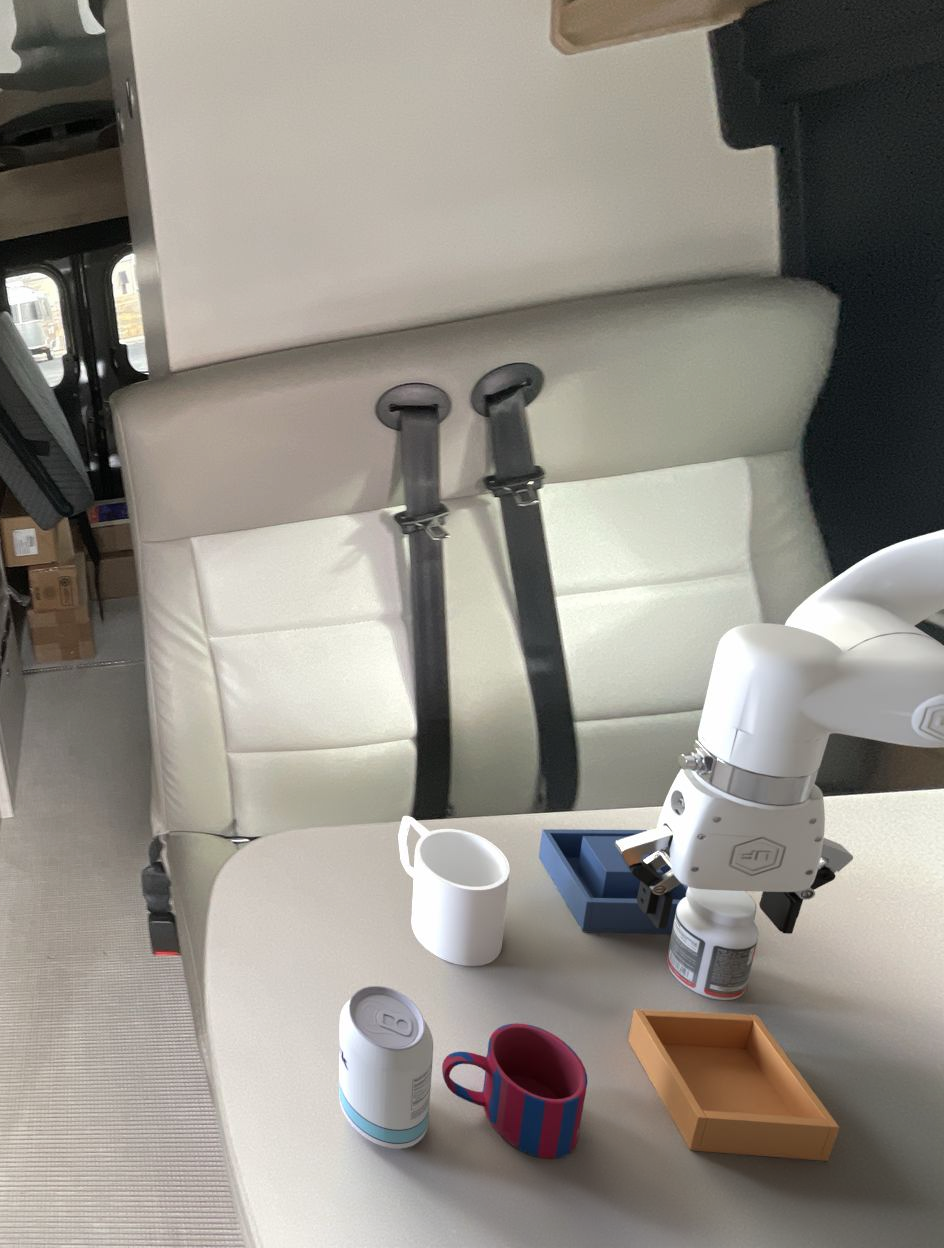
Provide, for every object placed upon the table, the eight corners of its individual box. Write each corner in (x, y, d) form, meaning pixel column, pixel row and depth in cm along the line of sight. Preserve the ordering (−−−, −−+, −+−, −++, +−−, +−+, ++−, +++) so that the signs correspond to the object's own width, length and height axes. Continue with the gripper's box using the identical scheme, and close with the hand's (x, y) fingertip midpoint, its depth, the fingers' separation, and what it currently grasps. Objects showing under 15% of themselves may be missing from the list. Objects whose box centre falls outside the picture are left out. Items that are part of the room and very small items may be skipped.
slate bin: (641, 858, 91) (646, 829, 90) (698, 934, 82) (704, 904, 80) (538, 856, 93) (541, 829, 92) (582, 931, 84) (586, 902, 83)
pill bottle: (747, 969, 78) (768, 890, 74) (742, 1014, 74) (764, 933, 71) (669, 940, 82) (685, 863, 78) (661, 981, 78) (677, 902, 74)
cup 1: (426, 867, 94) (430, 797, 91) (521, 947, 83) (530, 871, 80) (367, 893, 92) (369, 822, 89) (457, 978, 81) (463, 901, 78)
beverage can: (345, 1062, 76) (346, 967, 71) (430, 1093, 72) (437, 996, 68) (332, 1134, 70) (333, 1036, 66) (424, 1171, 67) (430, 1071, 62)
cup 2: (587, 1171, 65) (597, 1114, 63) (443, 1133, 69) (447, 1078, 67) (567, 1089, 71) (576, 1034, 68) (435, 1058, 75) (439, 1005, 72)
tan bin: (748, 1046, 72) (757, 1014, 70) (828, 1161, 63) (840, 1127, 62) (627, 1040, 74) (633, 1008, 72) (690, 1150, 65) (698, 1117, 64)
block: (629, 872, 89) (635, 836, 87) (655, 909, 84) (663, 872, 83) (577, 871, 90) (582, 835, 88) (600, 908, 86) (606, 871, 84)
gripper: (659, 795, 67) (626, 948, 74) (915, 798, 64) (858, 958, 70) (611, 739, 74) (585, 883, 80) (840, 738, 70) (794, 889, 77)
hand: (712, 918), depth 75 cm, fingers open, 9 cm apart
